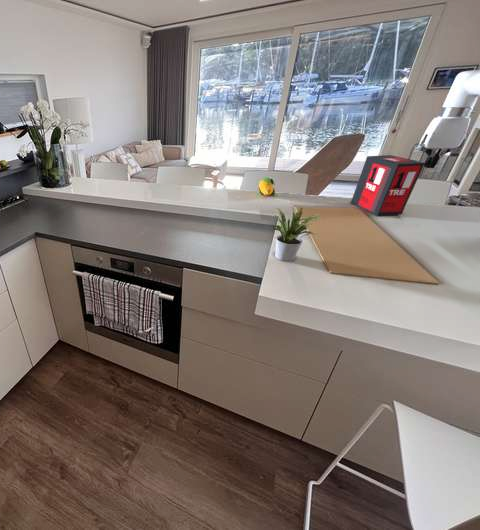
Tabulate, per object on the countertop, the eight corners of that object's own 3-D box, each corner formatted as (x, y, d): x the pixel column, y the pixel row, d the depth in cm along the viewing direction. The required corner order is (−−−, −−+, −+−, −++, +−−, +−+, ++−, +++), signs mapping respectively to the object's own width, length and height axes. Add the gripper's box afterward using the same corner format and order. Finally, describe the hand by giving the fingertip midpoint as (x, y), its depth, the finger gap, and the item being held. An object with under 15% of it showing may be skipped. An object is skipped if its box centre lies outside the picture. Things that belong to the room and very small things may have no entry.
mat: (358, 209, 121) (359, 208, 120) (438, 284, 74) (439, 283, 73) (294, 207, 128) (294, 206, 128) (330, 273, 81) (330, 272, 81)
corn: (274, 174, 149) (279, 184, 133) (272, 189, 152) (277, 200, 136) (258, 175, 151) (262, 185, 135) (257, 189, 155) (260, 200, 139)
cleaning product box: (350, 203, 128) (367, 156, 118) (371, 202, 127) (390, 155, 117) (377, 216, 114) (398, 164, 104) (401, 215, 113) (424, 162, 103)
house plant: (319, 273, 81) (337, 219, 73) (265, 268, 85) (277, 216, 77) (306, 251, 93) (321, 202, 85) (260, 247, 97) (270, 200, 89)
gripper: (475, 111, 100) (448, 165, 109) (421, 113, 104) (399, 165, 114) (491, 112, 94) (460, 170, 103) (433, 114, 98) (409, 169, 108)
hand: (428, 167), depth 108 cm, fingers closed
